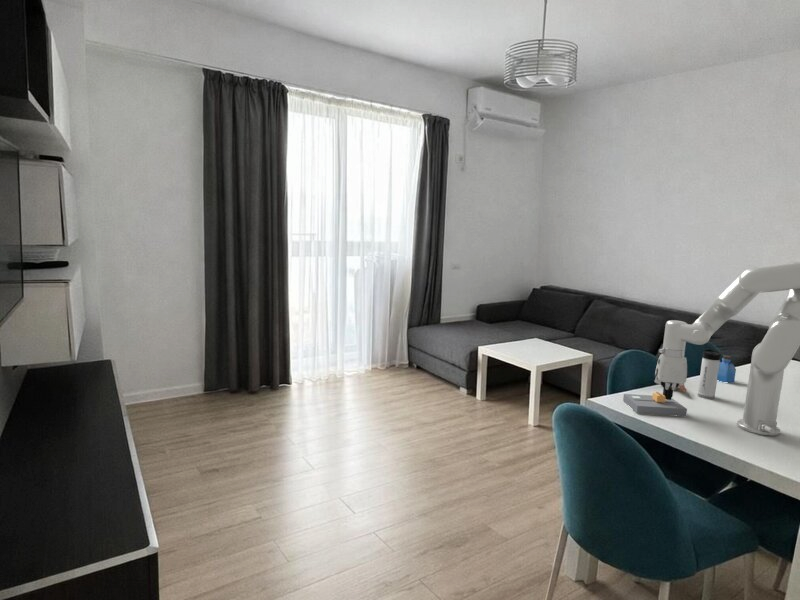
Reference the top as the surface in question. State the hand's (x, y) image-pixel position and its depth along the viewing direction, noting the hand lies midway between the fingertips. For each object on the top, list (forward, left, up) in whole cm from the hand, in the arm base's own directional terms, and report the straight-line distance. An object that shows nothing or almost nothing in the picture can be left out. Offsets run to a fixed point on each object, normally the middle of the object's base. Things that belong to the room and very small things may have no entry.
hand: (667, 398), depth 195 cm
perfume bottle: (+47, -47, -5) cm, 67 cm away
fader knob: (0, +3, -1) cm, 3 cm away
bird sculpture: (+29, -15, -5) cm, 33 cm away
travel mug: (+20, -25, -5) cm, 32 cm away
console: (0, +5, -4) cm, 6 cm away
